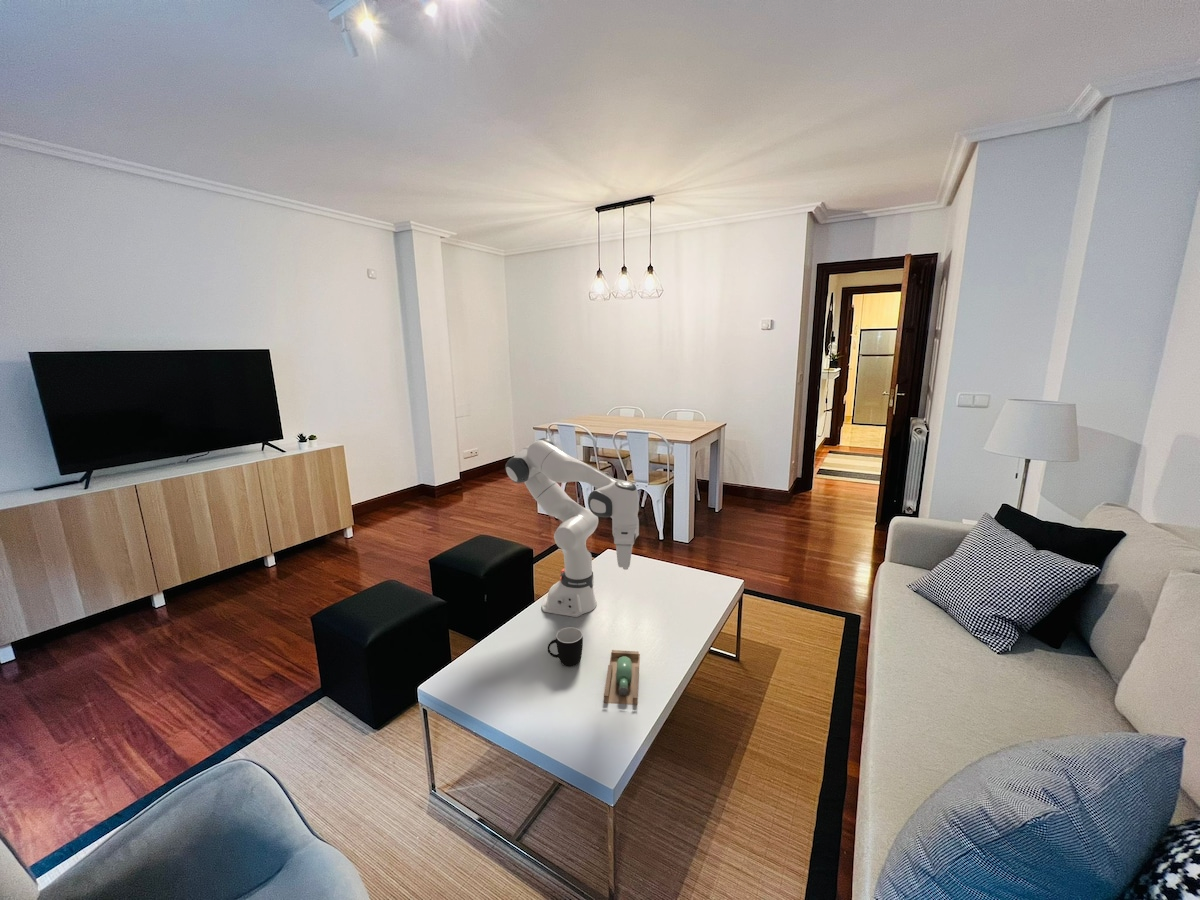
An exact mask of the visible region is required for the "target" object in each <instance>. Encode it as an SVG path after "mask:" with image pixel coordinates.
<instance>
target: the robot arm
mask: <svg viewBox="0 0 1200 900" xmlns="http://www.w3.org/2000/svg"><path fill="white" fill-rule="evenodd" d="M504 469H505V472H506V474H507V476H508V477H509V479H510V480H511V481H512V482H514V483H516V484H522V483H524V485H525V486H526V489H527V490H528V491H529V494H530V495H531V496H532V498H533V499H534V500H535V501H536V503H537V504H538V505H539V506H540V507H541V509H543V511H544V513H545V514H546V515H548V516H549V517H553V518H556V519H557V520H559V521H561V523H560V524H559V526H558V527H557V528H556V530H555V531H554V534H553V539H554V542H555V545H556V546H557V547H558V548H559V549H561V551H562V554H563V561H564V568H562V569H561V571H560V576H559V580H558V581H557V582H555V583H553V585H552V586H551V587H550V588H549V590H548V593H547V595H548V596H547V595H545V596H544V598H543V600H542V603H541V611H543V612H544V613H549V614H555V615H561V616H566V617H573V618H579V617H580V616H582V615H583V614H586V613H590V612H592V611H594V609H595V608H596V607H597V600H596V596H595V592H594V583H595V582H594V572H593V558H592V557H593V556H592V553H591V552H590V551H589V550H588V547H587V540H588V538H589V537H590V536H591V535H593V534H594V532H595V531H596V530H597V528H598V525H599V518H611V519H612V520H611V523H612V525H611V526H612V527H611V528H612V531H611V532H612V536H613V544H615V549H616V550H615V551H616V560H617V565H618V568H621V569H622V570H624V571H625V570H629V568H630V565H631V562H632V561H631V559H632V551H633V547H634V546H633V545H634V544H635V542H636V539H637V538H638V537H639V535H640V520H639V519H640V518H639V516H638V514H639V511H640V500H639V491H638V487H637V485H635V483H634V482H630V481H629V480H623V479H619V478H614V477H612V476H611V475H609V474H607V473H605V472H604V471H602V470H600V469H598V468H596V467H594V466H593V465H591V464H589V463H586V462H584V461H582V460H580V459H577V458H575V457H573V456H571V455H569V454H568V453H566V452H564V451H563V450H561V449H560V448H559V447H557V446H556V445H555V444H554V443H553V442H552V440H550V439H549V438H546V437H543V438H539V439H537V440H535V441H533V442H532V443H530V444H528V445H527V446H525V447H524V448H522V450H520V451H519V452H518V453H516V454H515V455H514V456H512V457H510V458H509V459H508V460H507V462H506V463H505V467H504ZM573 482H576V483H577V482H581V483H587V484H589V485H591V486H592V487H594V488H596V489H594V490H593V491H591V492H590V493H589V495H588V497H587V505H588V508H586V507H584V506H583V505H581V504H579V503H578V502H576V501H575V500H574V499H572V497H571V496H569V495H568V494H567V492H566V491H565V490H564V488H563V487H561V485H559V484H561V483H562V484H563V483H573Z"/></svg>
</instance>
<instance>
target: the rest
mask: <svg viewBox="0 0 1200 900" xmlns="http://www.w3.org/2000/svg"><path fill="white" fill-rule="evenodd" d="M639 652H640V651H638V650H637V651H635V650H616V649H611V652H610V660H609V664H608V666H607V670H606V671H607V672H606V678H605V685H604V692H603V703H605V704H607V703H608V704H618V705H621V704H622V705H631V706H632V705H633V706H638V697H639V678H640V659H641V653H639ZM623 656H626V657H628V658H630V660H631V662H632V679H631V683H630V684H629V685H628V695H627V696H625V697H623V696H620V695H619V684H618V683H617V681H616V673H617V660H618V659H619V658H620V657H623Z"/></svg>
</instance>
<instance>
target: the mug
mask: <svg viewBox="0 0 1200 900" xmlns="http://www.w3.org/2000/svg"><path fill="white" fill-rule="evenodd" d="M583 636H584V635H583V632H582V630H581V629H579V628H577V627H572V626H569V627H563V628H561V629H559V630H558V631H557V632H556V634H555V639H553V640H551V641H550V642H549V643H548V644H547V652H548V654H549V655H550V656H551V657H552V658H556V659H558V660H559V662H560V664H561V665H563V666H564V667H567V668H571V667H575V666H577V665H579V664H580V662H581V659H582V654H583V646H584V645H583V643H584V637H583ZM553 644H556V650H557V653H556V654H554V653H553V652H552V651H551V650H550V648H551V646H552V645H553Z"/></svg>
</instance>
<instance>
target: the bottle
mask: <svg viewBox="0 0 1200 900" xmlns="http://www.w3.org/2000/svg"><path fill="white" fill-rule="evenodd" d="M631 679H632V662H631V660H630V658H628V657H626V656H623V657H620V658H619V659H618V660H617V673H616V681H617V683H618V684H619V695H620V696H623V697H625V696H627V695H628V685H629V684H630V683H631Z"/></svg>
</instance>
